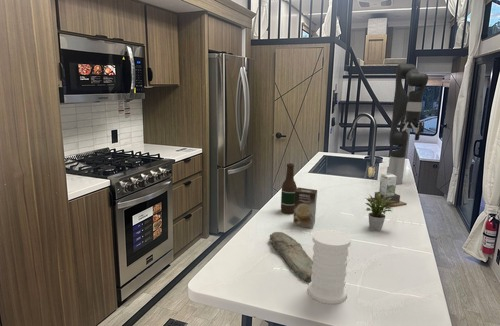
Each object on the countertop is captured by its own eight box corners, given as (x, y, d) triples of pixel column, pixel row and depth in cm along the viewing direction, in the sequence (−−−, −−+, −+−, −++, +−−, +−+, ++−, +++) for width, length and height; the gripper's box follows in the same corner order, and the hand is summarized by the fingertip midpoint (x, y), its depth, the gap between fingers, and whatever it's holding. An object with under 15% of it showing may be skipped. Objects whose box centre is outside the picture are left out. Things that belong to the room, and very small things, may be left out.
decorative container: (318, 278, 115) (321, 226, 111) (352, 290, 109) (358, 236, 105) (300, 294, 106) (304, 238, 102) (337, 309, 100) (342, 250, 96)
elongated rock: (299, 289, 111) (327, 286, 114) (301, 274, 110) (330, 272, 113) (263, 237, 144) (286, 236, 147) (264, 225, 142) (287, 224, 145)
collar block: (367, 201, 195) (368, 191, 194) (386, 198, 201) (387, 188, 200) (386, 209, 183) (387, 199, 182) (406, 206, 189) (407, 196, 187)
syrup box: (387, 198, 195) (389, 173, 192) (394, 202, 189) (396, 175, 186) (378, 199, 193) (380, 173, 190) (385, 203, 188) (387, 176, 185)
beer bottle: (298, 210, 177) (300, 163, 171) (293, 215, 170) (295, 166, 164) (283, 207, 180) (285, 161, 174) (277, 212, 173) (279, 164, 168)
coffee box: (292, 225, 157) (294, 191, 154) (295, 220, 163) (297, 187, 160) (313, 228, 154) (315, 193, 151) (315, 223, 160) (317, 189, 157)
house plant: (374, 238, 146) (378, 200, 143) (350, 226, 158) (354, 191, 155) (398, 232, 153) (403, 196, 149) (374, 221, 165) (377, 187, 161)
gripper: (429, 111, 193) (425, 140, 197) (408, 109, 206) (404, 137, 209) (419, 111, 190) (415, 141, 193) (398, 109, 202) (395, 137, 206)
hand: (410, 139), depth 201 cm, fingers open, 8 cm apart
